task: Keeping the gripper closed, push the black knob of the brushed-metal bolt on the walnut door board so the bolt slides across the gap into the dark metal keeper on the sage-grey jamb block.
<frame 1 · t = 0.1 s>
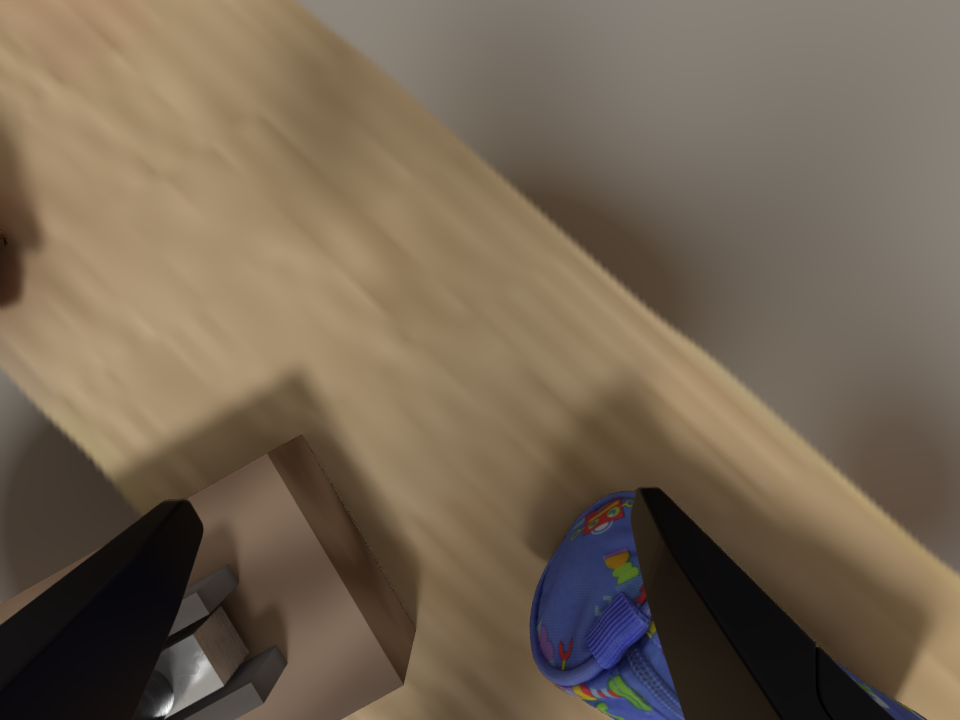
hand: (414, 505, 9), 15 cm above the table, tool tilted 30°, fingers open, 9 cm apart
pencil case: (717, 640, 25), on the table
door board: (212, 614, 25), on the table
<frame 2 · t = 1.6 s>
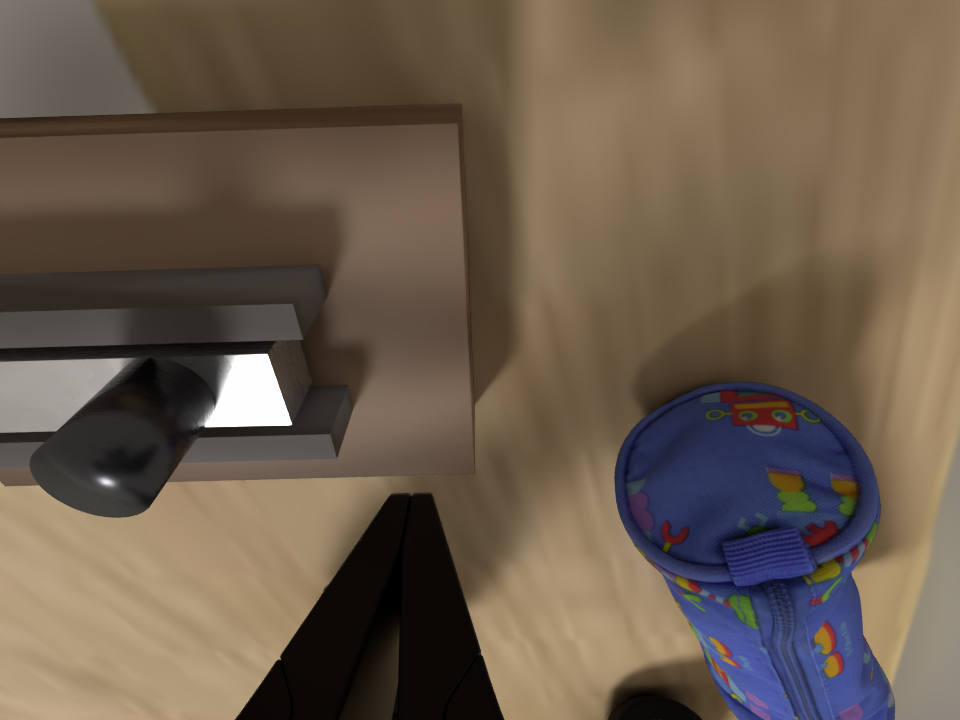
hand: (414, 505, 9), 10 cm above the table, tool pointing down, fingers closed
pencil case: (723, 513, 26), on the table
lock bolt: (43, 409, 12), point 7 cm above the table, slide at 0.0 cm
door board: (232, 290, 18), on the table
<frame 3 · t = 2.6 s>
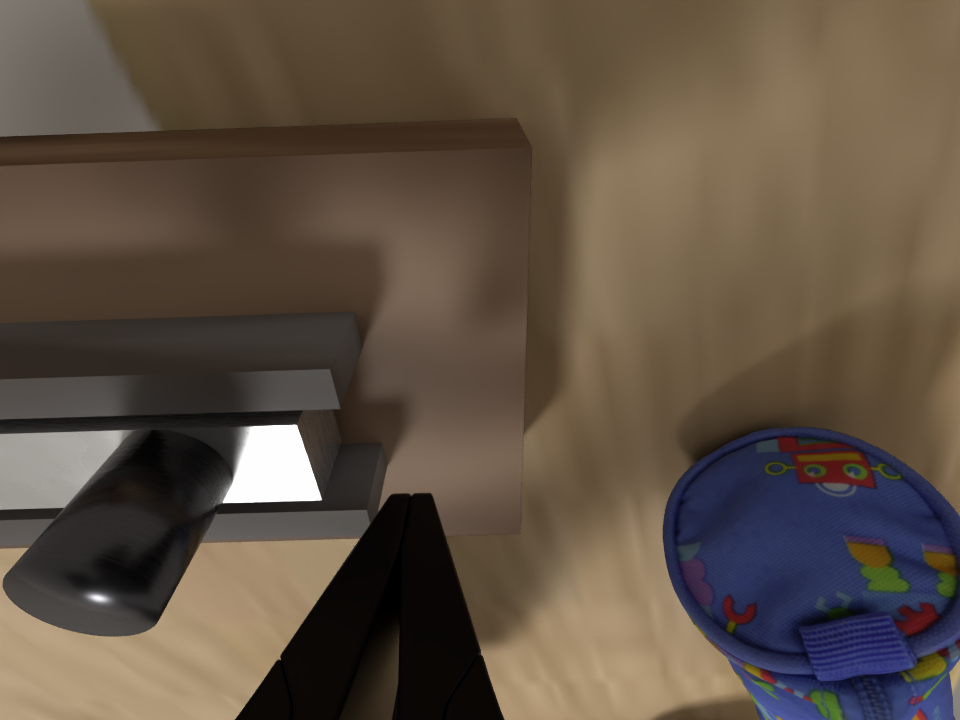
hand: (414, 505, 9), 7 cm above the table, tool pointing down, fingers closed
pencil case: (773, 556, 24), on the table
lock bolt: (26, 490, 10), point 7 cm above the table, slide at 0.0 cm
door board: (245, 327, 16), on the table
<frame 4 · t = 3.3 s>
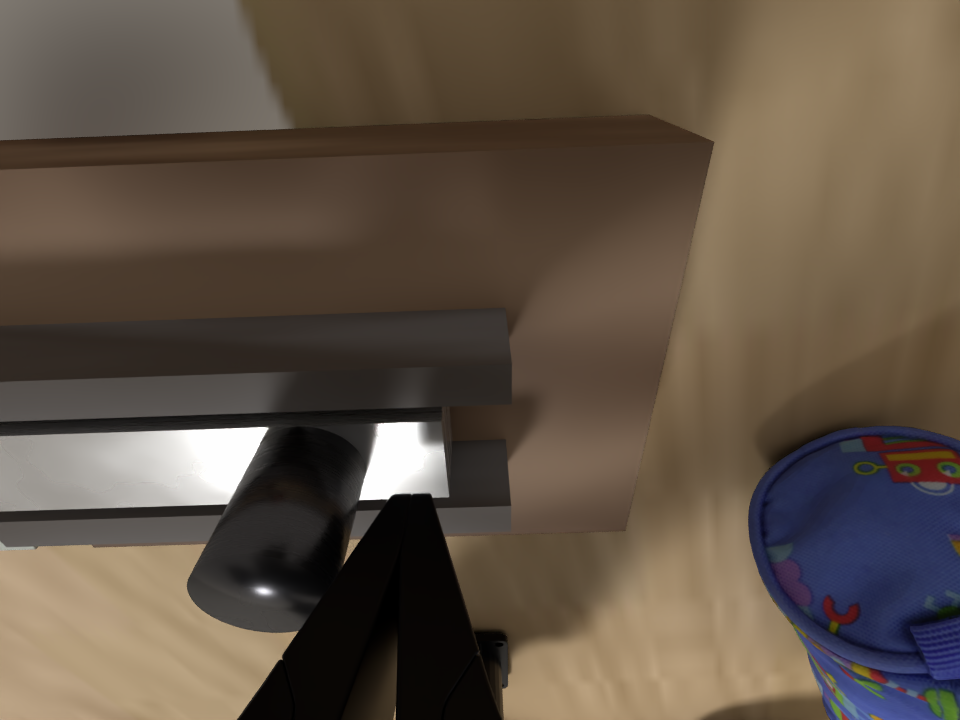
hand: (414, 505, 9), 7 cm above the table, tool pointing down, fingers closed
pencil case: (841, 554, 24), on the table
lock bolt: (167, 488, 10), point 7 cm above the table, slide at 0.5 cm, touching gripper
door board: (350, 325, 16), on the table
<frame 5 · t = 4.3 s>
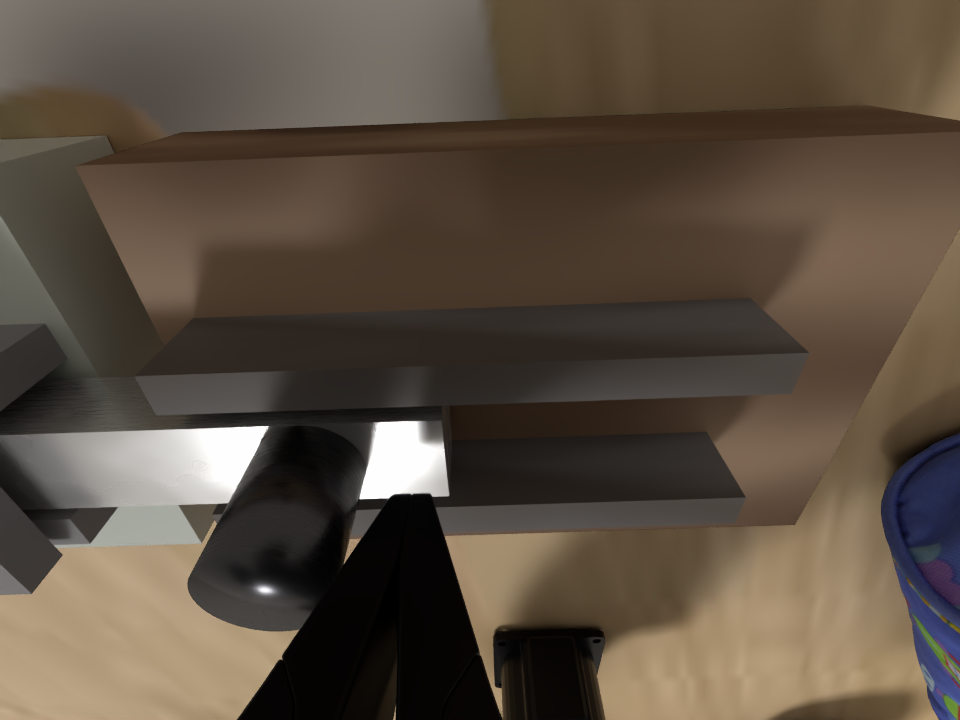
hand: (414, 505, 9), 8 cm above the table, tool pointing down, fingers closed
pencil case: (949, 550, 24), on the table
lock bolt: (167, 487, 10), point 7 cm above the table, slide at 6.2 cm, touching gripper
jamb block: (45, 335, 16), on the table
door board: (519, 319, 16), on the table
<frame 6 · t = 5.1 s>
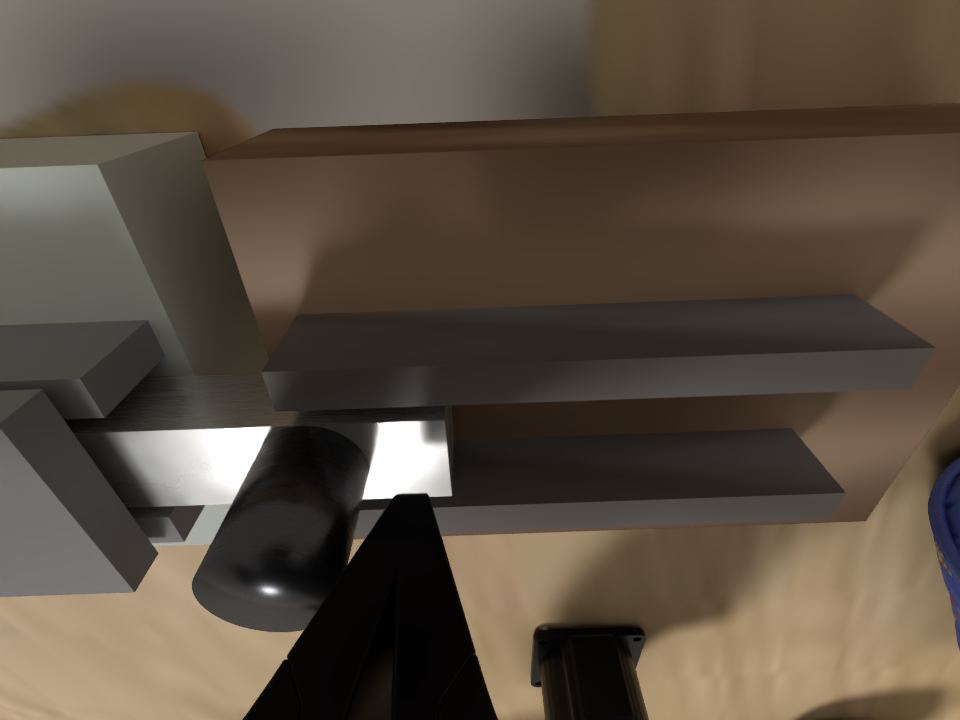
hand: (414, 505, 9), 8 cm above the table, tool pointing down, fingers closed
lock bolt: (169, 487, 10), point 7 cm above the table, slide at 8.6 cm, touching gripper
jamb block: (115, 333, 16), on the table
door board: (591, 316, 16), on the table
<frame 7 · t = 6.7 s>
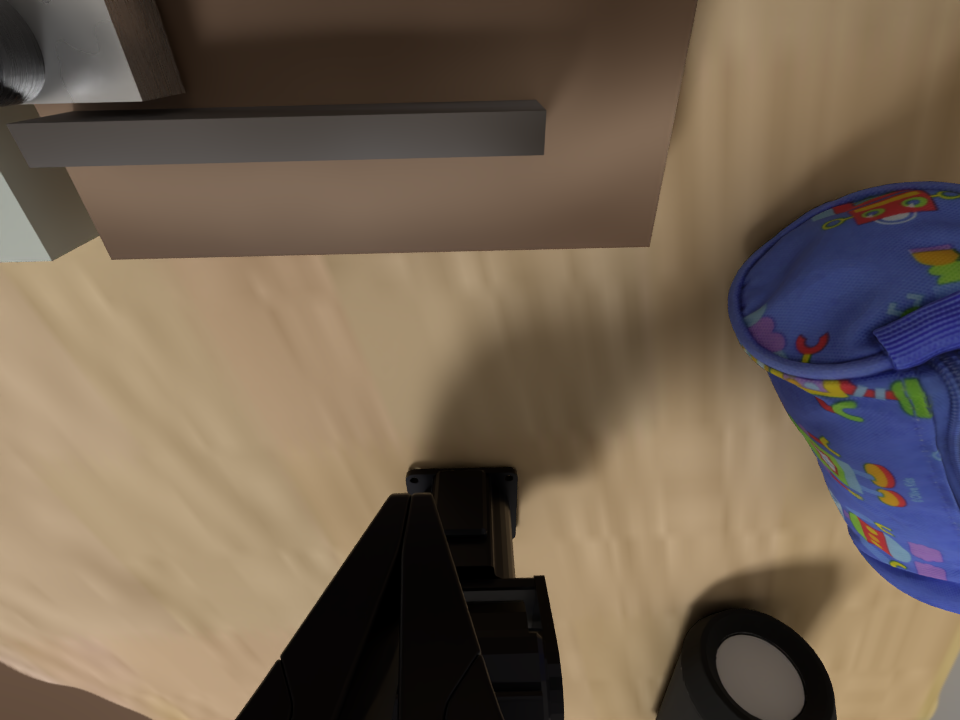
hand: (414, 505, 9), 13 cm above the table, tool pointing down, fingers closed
pencil case: (848, 372, 24), on the table
door board: (374, 34, 15), on the table
portable speaker: (698, 665, 44), on the table
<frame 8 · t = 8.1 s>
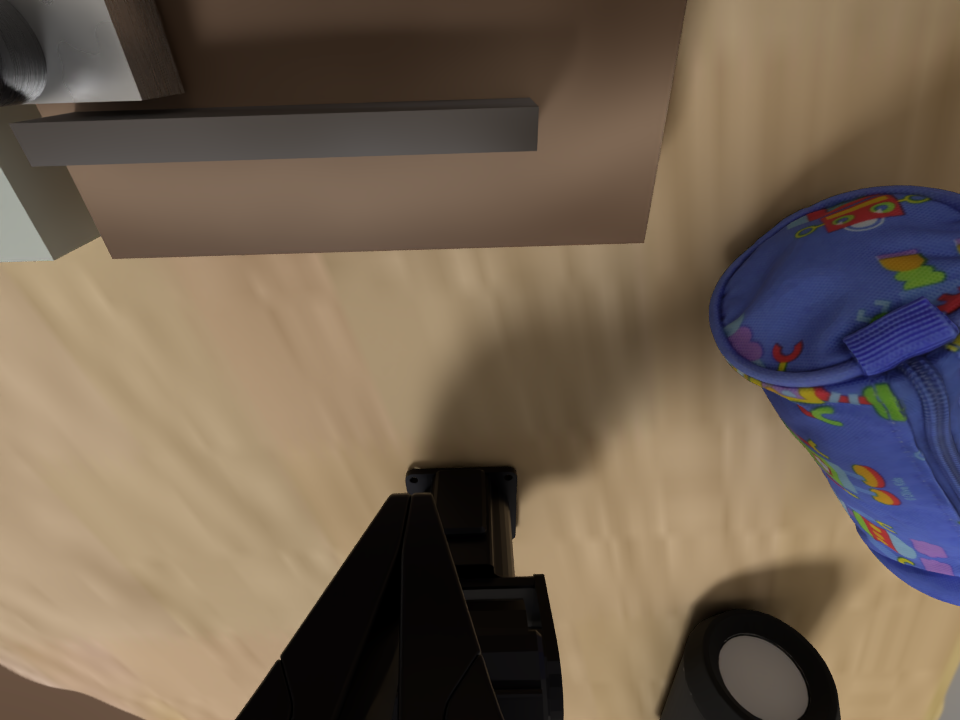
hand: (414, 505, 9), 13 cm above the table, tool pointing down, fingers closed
pencil case: (843, 370, 24), on the table
door board: (370, 36, 16), on the table
portable speaker: (701, 667, 43), on the table
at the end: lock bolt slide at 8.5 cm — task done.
